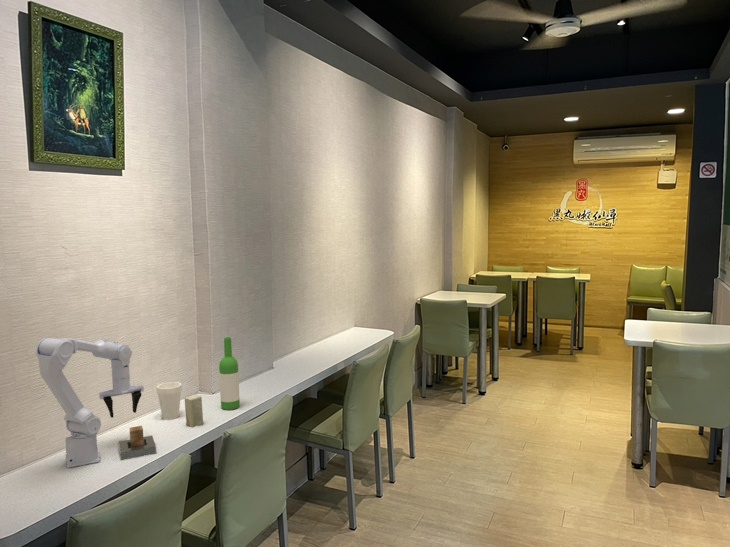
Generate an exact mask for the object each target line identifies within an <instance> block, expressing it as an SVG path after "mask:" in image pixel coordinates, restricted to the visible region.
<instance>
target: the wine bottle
mask: <svg viewBox="0 0 730 547" xmlns="http://www.w3.org/2000/svg"><path fill="white" fill-rule="evenodd" d="M223 344H224V345H223V349H224V350H223V351H224V357H223V358H221V360H220V362H219V365H218V366H219V390H220V392H219V394H220V407H221V409H223V410H226V411H227V410H228V411H230V410H231V411H232V410H236V409H237V408H239V407H240V404H241V402H240V381H239V379H240V378H239V363H238V360H237V359H236V358H235V357H234V356H233V353H232V352H233V351H232V338H231V337H223Z"/></svg>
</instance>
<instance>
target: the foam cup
mask: <svg viewBox="0 0 730 547" xmlns="http://www.w3.org/2000/svg"><path fill="white" fill-rule="evenodd" d="M182 387H183V386H182V383H181V382H179V381H169V382H168V381H167V382H163V383H160V384H158V385H157V386H156V394H157V397H158V402H159V406H160V411H161V417H162V419H163V420H172V419H173V420H174V419H177V418H179V417H180V407H181V395H182Z"/></svg>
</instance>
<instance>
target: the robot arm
mask: <svg viewBox="0 0 730 547" xmlns="http://www.w3.org/2000/svg"><path fill="white" fill-rule="evenodd" d="M77 351H81V352H88V353H91V354H92V355H93V357H95V358H100V359H107V360H110V362H111V363H110V364H111V378H112V380H111V382H112V389H108V390H106V391H102V392H99V394H98V395H99V396H98V397H99V399H100V400H103V401H104V404H105V405H106V408H107V410H108V411H109V412H108V413H109V417H110V418H114V410H113V409H114V406H113V404H114V403H113V402H114V401H113V398H112V397H118V396H122V395H128V394H131V400H132V412H133V413H134V414H136V413H137V409H138V405H139V402H140V399H141V397H142V392H144V391H145V388H144V385H142V384H140V385H131V379H130V378H131V376H130V363H131V357H132V354H133V350H132V349H131V348H130V346H129V345H127V344H123V343H119V342H117V341H113V342H112V341H111V342H110V341H108V339H104V338H101V340H96V341H95V342H91V341H87V340H83V339H78V338H69V337H66V338H65V337H53V338H52V337H49V336H48V337H44V338H42V339H40V340H39V342H38V343H37V346H36V349H35V351H34V353H35V355H36V356H37V358H38V367H39V374H40V376H41V378H42V379H43V381H44V382H45V384H46V386H48V388H49V390H50V391H51V393H52V394H53V396H54V398H55V399H56V401H57V402H58V403H59V405H60V407H61V409H62V410H63V411H64V413H65V415H64V417H63V419H64V422H65V428H66V430H67V431H69V432H70V435H69V436H67V437H65V453H66V454H65V461H66V467H67V468H69V469H70V468H74V467H79V466H84V465H90V464H95V463H99V462H100V452H99V451H98V440H97V439H98V438H97V437H98V436H97V435H98V432H99V431H100V429H101V426H102V421H101V419H100V417H99V416H96V415H95V414H94V412H93V411H91V410H90V409H89V408H87V407H85V406H84V405H83V402H82V400H81V399H80V397H79V396H78V394H77V393H76V392H75V390H74V389H73V387H72V385H71V384H70V381H68V380H69V379H67V377H66V375H65V374H64V372H63V369H65V368H66V366H67V364H68V363H69V361H70V359H71V357H73V354H76V353H77Z"/></svg>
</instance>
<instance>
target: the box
mask: <svg viewBox="0 0 730 547" xmlns="http://www.w3.org/2000/svg"><path fill="white" fill-rule="evenodd" d="M202 400H203V398H202V396H201V395H197V394H192V395H190V396H187V397H184V408H185V409H184V410H185V422H186V423H185V424H186V426H188V427H190V428H194V427H198V426H200V425H202V424H204V416H203V414H204V413H203V401H202Z"/></svg>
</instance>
